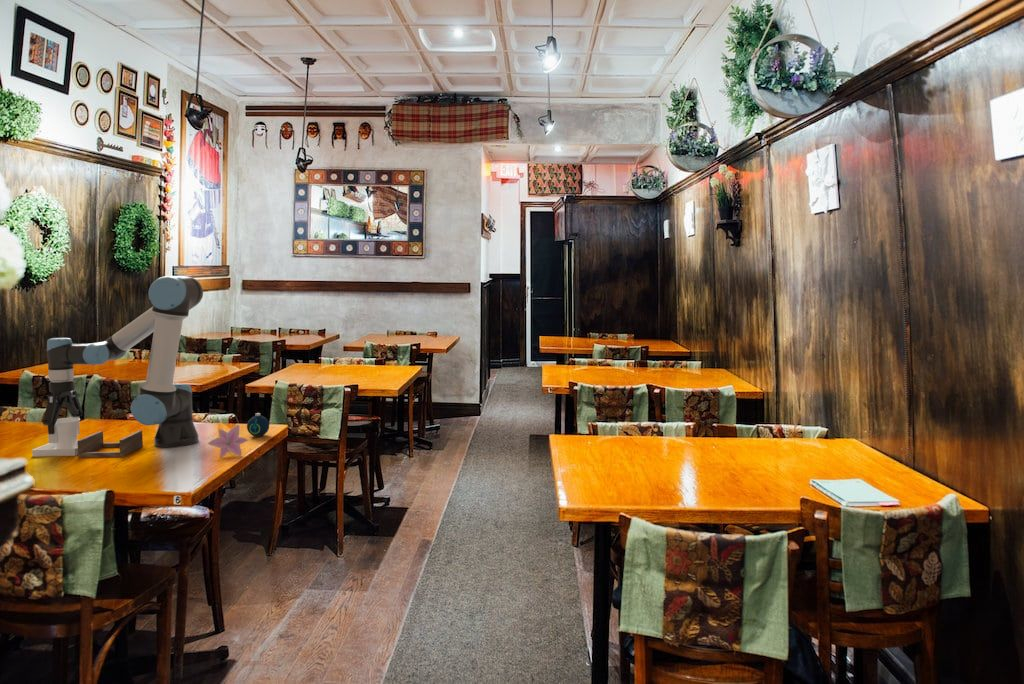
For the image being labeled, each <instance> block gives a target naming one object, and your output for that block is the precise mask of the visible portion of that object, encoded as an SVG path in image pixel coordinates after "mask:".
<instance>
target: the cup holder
mask: <svg viewBox="0 0 1024 684" xmlns="http://www.w3.org/2000/svg"><path fill="white" fill-rule="evenodd" d="M77 440H78V458H112V457H113V458H114V457H115V458H117V457H119V458H120V457H121V458H123V457H125V456H127V455H129V454H131V453H133V452H135V451H136V450H138V449H140V448H142V447H144V445H143V440H144V438H143V430H137V431H135V432H133V433H130V435H127V436H125V437H123V438H121V439H119V440H118V441H119V442H104V431H103V430H100V431H96V432H94V433H92V434H90V435H88V436H85V437H83V438H80V439H77ZM102 448H119V451H98V450H99V449H102Z"/></svg>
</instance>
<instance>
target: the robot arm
mask: <svg viewBox="0 0 1024 684" xmlns="http://www.w3.org/2000/svg"><path fill="white" fill-rule="evenodd" d="M147 295H148V299H149V301H150V304H152V307H150V308H148V310H146V311H144V312H143V313H142V314H140V315H139V316H138V317H136V318H135V319H134V320H132V321H131V322H129V323H128V324H126V325H125V326H124V327H122V328H121V329H120V330H118V331H117V332H115V333H114V334H113V335H112V336H111V335H110V337H109V338H107V339H105V340H104V341H103V340H102V341H97V342H92V343H73V341H72V338H70V337H52V338H48V339H47V341H46V355H47V365H48V372H47V374H48V381H50V382H49V383H48V389H49V393H52V394H53V395H52V396H47V398H46V399H47V404H46V407H45V412H44V416H43V421H42V425H44V426H47V434H48V443H58V429H57V424H56V421H57V419H59V415H60V413H61V411H62V409H64V408H66V409H67V411H68V412H69V415H71V416H70V417H69V418H80V417H82V416H83V409H82V406H81V403H80V401H79V398H78V393H77V390H75V381H74V379H75V375H74V374H75V372H74V365H85V366H86V365H89V366H90V365H91V366H97V365H99V366H100V365H104V364H105V363H106V362H109V361H110V362H111V361H117V360H119V359H121V358H123V357H125V356H126V354H127V351H128V350H130V349H131V348H133V347H134V346H136V345H137V344H139V343H140V342H141V341H142V340H144V339H146V338H147V337H149V336H150V335H151V334H152V333H153V335H152V342H151V347H150V355H149V361H148V367H147V372H146V378H145V379H146V380H145V381H144V382H143V383H141V384H140V387H139V394H138V395H137V396H136V397H135V398H134V399H133V400H132V401H131V404H130V411H131V415H132V416H133V418H134V419H135V420H136V421H137V422H138V423H139V424H141V425H144V426H156V425H158V426H157V429H156V432H155V435H154V439H153V441H154V446H156V447H159V448H176V447H177V448H178V447H182V446H183V447H184V446H188V445H189V446H190V445H193V444H196V443H198V442H199V434H198V431H197V429H196V425H195V424H194V419H193V391H192V386H191V385H190V384H189V383H174V377H175V371H176V366H177V358H178V352H179V345H180V341H181V340H180V339H181V333H182V326H183V321H184V320H185V319H186V318H188V317H189V312H190V311H191V309H193V308H195V307H196V306H197V305H199V303H201V301H202V299H203V296H204V290H203V286H202V284H201V283H200V282H199V280H197V279H195V278H193V277H191V276H182V275H181V276H179V275H178V276H177V275H166V276H165V275H164V276H161V277H159V278H157V279H155V280H154V281H153V282H151V284H150V287H149V289H148V294H147ZM80 431H81V429H80V428H79V429H78V435H80Z"/></svg>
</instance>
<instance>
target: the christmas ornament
mask: <svg viewBox="0 0 1024 684" xmlns="http://www.w3.org/2000/svg"><path fill="white" fill-rule="evenodd" d="M254 414H255V415H254V416H252V417H251V418H250V419H249V420H248V421H247V424H246V429H247V432H248V433H249V435H251V436H254V437H261V436H264V435H266V433H268V431H269V430H270V422H269V420H268V419H267V418H266V417H265V416H263V415H261V413H260V412H257V413H254Z"/></svg>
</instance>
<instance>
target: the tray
mask: <svg viewBox="0 0 1024 684" xmlns="http://www.w3.org/2000/svg"><path fill="white" fill-rule="evenodd" d="M78 440H79V439H77V443H76V448H74V449H55V446H54V443H49V442H48V443H46V444H43V445H41V446H38V447H36V448H33V449H31V454H32V457H72V456H73V457H77V455H78Z"/></svg>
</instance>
